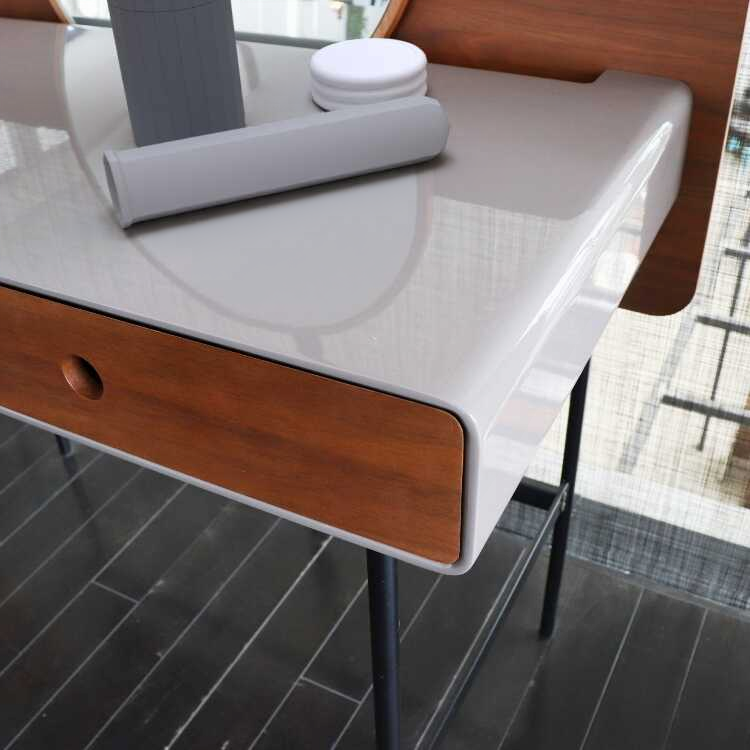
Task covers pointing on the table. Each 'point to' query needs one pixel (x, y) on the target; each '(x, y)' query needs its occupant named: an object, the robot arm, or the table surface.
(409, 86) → the white thick disc
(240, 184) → the tube
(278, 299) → the table surface
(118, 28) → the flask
